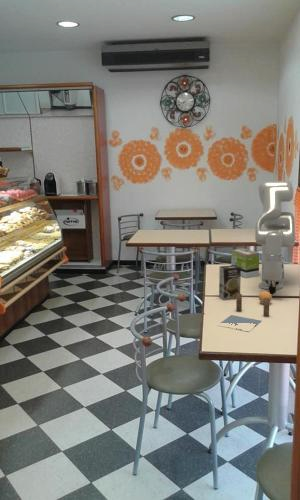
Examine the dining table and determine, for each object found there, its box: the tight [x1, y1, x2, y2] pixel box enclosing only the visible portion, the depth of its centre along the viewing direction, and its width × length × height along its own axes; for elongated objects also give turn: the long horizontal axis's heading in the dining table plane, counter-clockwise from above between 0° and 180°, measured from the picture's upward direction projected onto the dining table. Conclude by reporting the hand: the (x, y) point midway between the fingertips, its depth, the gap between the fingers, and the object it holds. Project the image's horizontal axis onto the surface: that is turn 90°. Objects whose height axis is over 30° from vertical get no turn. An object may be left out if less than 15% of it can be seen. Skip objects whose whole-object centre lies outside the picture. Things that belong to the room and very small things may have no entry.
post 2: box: [262, 298, 270, 318], centre depth 187 cm, size 2×2×8 cm
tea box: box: [230, 248, 260, 279], centre depth 255 cm, size 15×10×15 cm
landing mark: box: [220, 314, 262, 330], centre depth 180 cm, size 14×14×1 cm
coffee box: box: [218, 265, 242, 301], centre depth 213 cm, size 9×6×16 cm
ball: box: [258, 290, 273, 304], centre depth 204 cm, size 6×6×6 cm
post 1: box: [235, 293, 243, 313], centre depth 194 cm, size 2×2×8 cm
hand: (272, 293), depth 210 cm, fingers closed
